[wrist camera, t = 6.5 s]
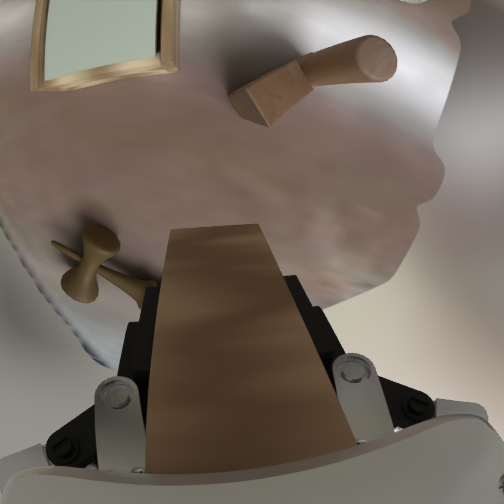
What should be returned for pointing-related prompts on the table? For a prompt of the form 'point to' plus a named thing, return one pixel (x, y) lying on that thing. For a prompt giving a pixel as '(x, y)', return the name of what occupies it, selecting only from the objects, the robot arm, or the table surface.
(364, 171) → the table surface
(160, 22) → the wooden box
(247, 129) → the table surface
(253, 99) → the wooden block
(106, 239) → the kendama
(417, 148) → the table surface
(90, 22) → the lid
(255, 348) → the wooden square column
